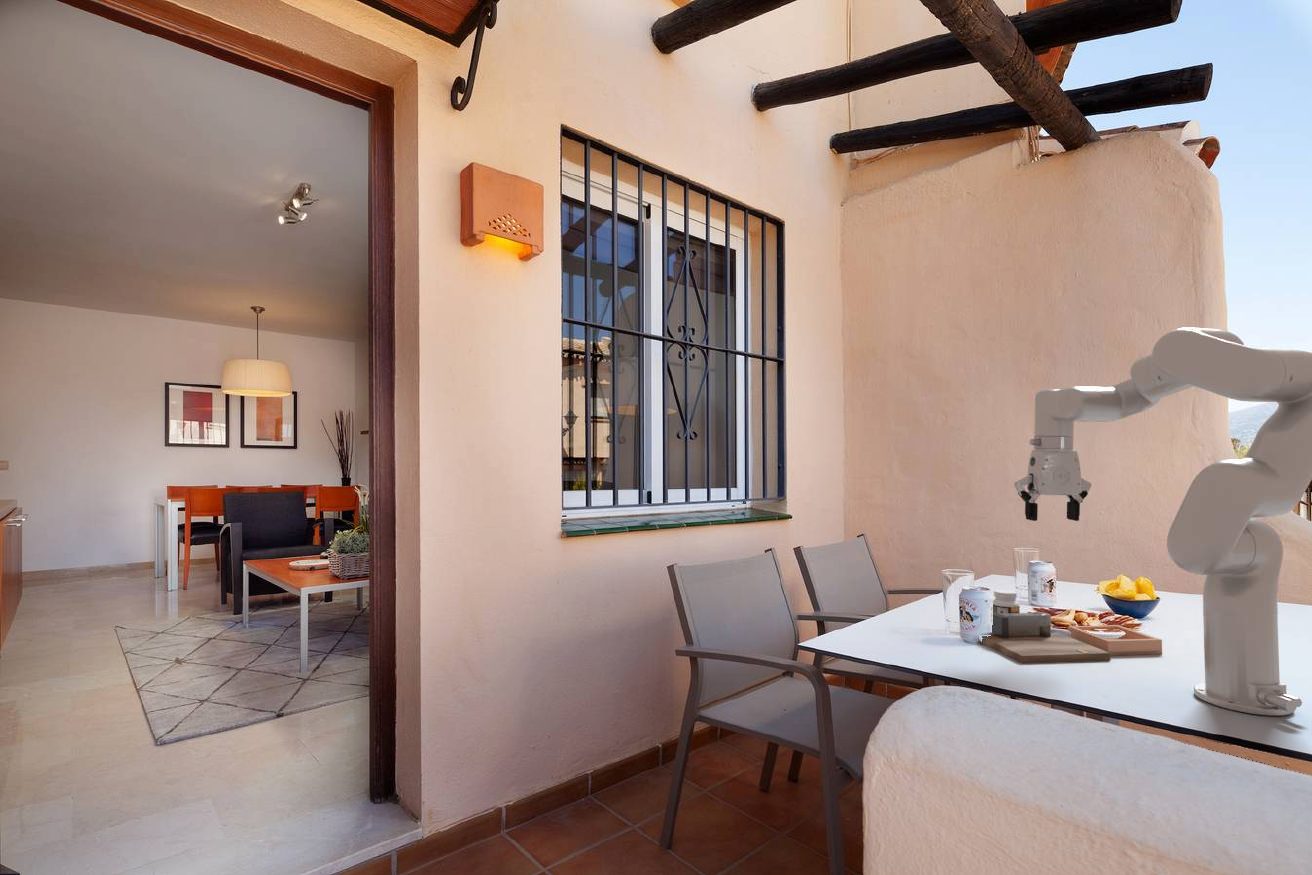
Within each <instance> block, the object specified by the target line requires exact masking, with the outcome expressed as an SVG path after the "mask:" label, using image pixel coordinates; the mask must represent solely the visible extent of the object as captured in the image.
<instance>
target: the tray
mask: <svg viewBox="0 0 1312 875" xmlns="http://www.w3.org/2000/svg"><path fill="white" fill-rule="evenodd" d="M1091 629H1119V630H1122V631H1124V632H1125V633H1126V634H1125V635H1124V636H1122V637H1119V638H1103V637H1100V636H1097V635H1095V634H1092V633H1089V632H1087V631H1084V630H1091ZM1067 630H1068V631H1070V632H1072V633H1071V634H1068V633H1067V636H1068V637H1071V638H1073V639H1076V640H1078V641H1081V642H1084V643H1086V644H1089V645H1091V646H1094V647H1096V648H1099V649H1101V650H1104V651H1106V652H1109V653H1110V657H1111V656H1112V657H1113V656H1114V657H1115V656H1140V655H1141V656H1143V655H1147V656H1148V655H1163V640H1162V639H1161V638H1158V637H1155V636H1151V635H1148V634H1146V633H1143V632H1140V631H1138V630H1134V629H1131V628H1128V627H1124V626H1122V625H1119V624H1106V625H1105V624H1103V625H1101V624H1100V625H1070V626H1067ZM1068 631H1067V632H1068Z"/></svg>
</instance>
